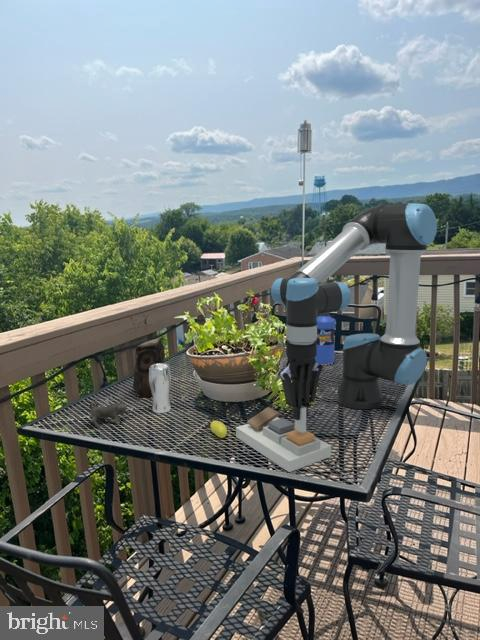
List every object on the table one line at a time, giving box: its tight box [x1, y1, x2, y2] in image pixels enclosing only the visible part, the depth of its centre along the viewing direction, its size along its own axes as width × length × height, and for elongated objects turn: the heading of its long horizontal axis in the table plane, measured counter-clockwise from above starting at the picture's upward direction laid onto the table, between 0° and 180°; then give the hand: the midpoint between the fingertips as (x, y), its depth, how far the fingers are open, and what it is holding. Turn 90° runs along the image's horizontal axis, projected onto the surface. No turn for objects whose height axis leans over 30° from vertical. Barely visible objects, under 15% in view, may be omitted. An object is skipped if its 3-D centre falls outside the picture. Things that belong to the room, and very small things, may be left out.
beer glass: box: [149, 362, 172, 414], centre depth 156 cm, size 7×7×15 cm
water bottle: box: [315, 312, 336, 364], centre depth 203 cm, size 9×9×25 cm
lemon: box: [210, 420, 228, 439], centre depth 138 cm, size 4×8×4 cm, turn 21°
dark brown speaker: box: [132, 336, 166, 399], centre depth 170 cm, size 13×13×20 cm
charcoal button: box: [268, 417, 295, 435], centre depth 129 cm, size 5×5×2 cm
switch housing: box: [235, 416, 332, 473], centre depth 130 cm, size 14×24×5 cm, turn 33°
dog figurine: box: [88, 402, 130, 429], centre depth 147 cm, size 12×6×7 cm, turn 110°
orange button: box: [287, 429, 316, 446], centre depth 123 cm, size 5×5×2 cm
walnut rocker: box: [247, 406, 281, 430], centre depth 136 cm, size 8×5×1 cm, turn 123°
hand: (300, 430), depth 122 cm, fingers closed
